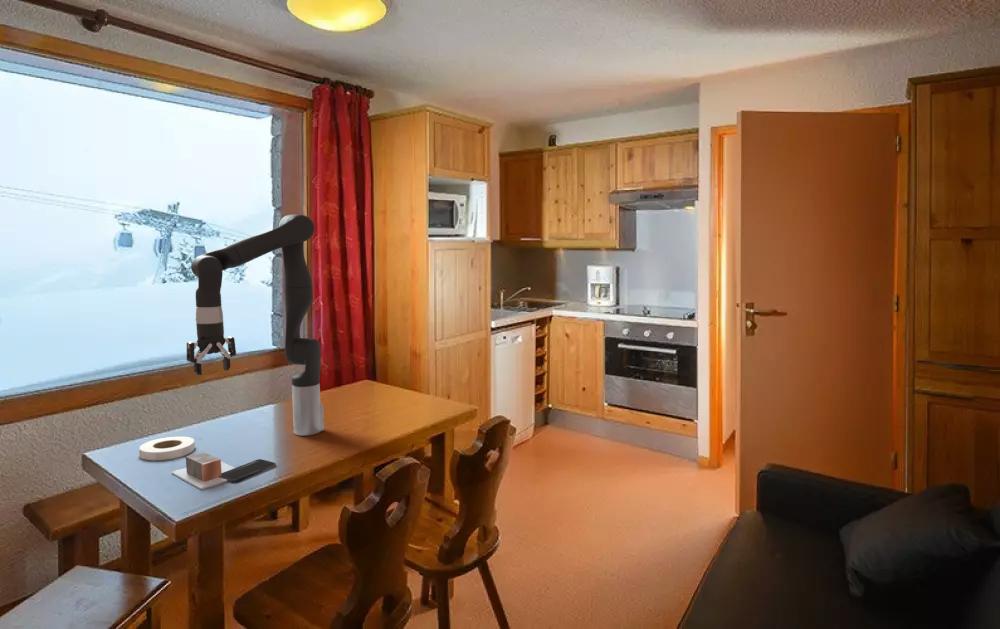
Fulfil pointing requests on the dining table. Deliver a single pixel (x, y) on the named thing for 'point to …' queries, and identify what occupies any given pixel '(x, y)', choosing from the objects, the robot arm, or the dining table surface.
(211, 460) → the block
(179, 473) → the mat
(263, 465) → the phone
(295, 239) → the robot arm
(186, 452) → the roll of tape
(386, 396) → the dining table surface
